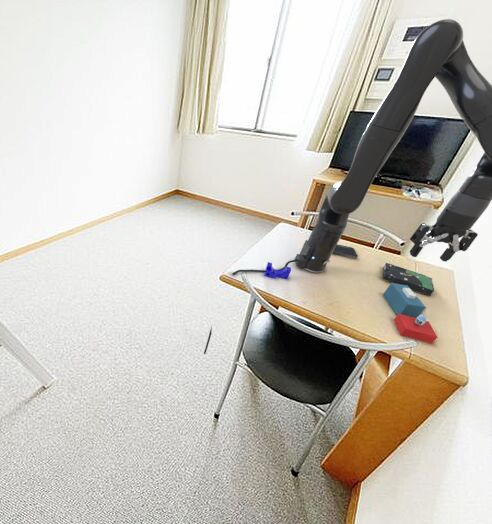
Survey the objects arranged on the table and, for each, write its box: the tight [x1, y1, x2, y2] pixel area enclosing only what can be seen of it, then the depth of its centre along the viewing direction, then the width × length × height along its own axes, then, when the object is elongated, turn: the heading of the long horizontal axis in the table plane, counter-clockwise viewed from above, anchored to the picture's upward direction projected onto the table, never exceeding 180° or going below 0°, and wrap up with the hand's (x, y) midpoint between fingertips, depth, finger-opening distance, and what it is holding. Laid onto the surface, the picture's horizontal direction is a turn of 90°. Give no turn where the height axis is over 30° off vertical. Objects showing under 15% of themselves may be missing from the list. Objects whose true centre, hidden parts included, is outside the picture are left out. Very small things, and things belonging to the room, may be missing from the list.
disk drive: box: [381, 262, 435, 296], centre depth 113 cm, size 10×3×15 cm
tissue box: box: [382, 282, 427, 318], centre depth 99 cm, size 5×11×7 cm, turn 169°
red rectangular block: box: [393, 314, 438, 344], centre depth 90 cm, size 8×7×6 cm
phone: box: [332, 243, 358, 260], centre depth 129 cm, size 8×1×15 cm
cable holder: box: [263, 261, 292, 280], centre depth 109 cm, size 8×4×4 cm, turn 70°
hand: (427, 257), depth 93 cm, fingers open, 8 cm apart
